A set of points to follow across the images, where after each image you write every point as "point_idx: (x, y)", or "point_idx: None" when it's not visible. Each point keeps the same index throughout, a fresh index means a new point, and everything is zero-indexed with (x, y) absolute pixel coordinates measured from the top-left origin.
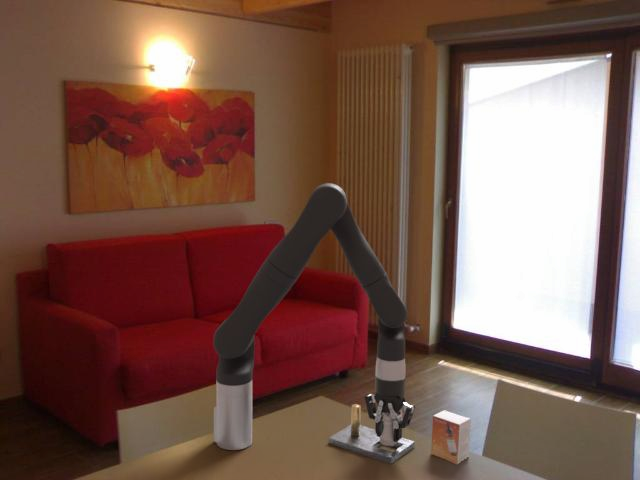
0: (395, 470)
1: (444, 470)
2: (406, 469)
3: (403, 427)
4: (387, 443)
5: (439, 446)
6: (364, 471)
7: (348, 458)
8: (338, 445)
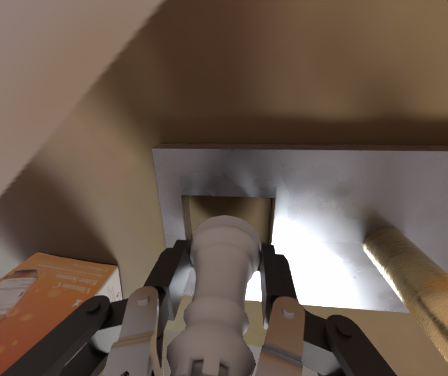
0: (120, 108)
1: (28, 205)
2: (100, 141)
3: (94, 299)
4: (212, 223)
5: (65, 287)
6: (204, 2)
7: (331, 71)
8: (425, 146)
